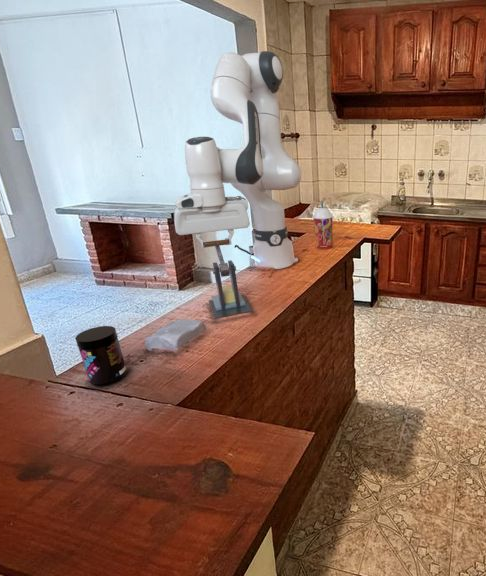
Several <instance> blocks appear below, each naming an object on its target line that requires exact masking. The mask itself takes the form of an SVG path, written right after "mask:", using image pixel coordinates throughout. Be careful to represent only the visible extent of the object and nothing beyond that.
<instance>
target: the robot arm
mask: <svg viewBox="0 0 486 576" xmlns="http://www.w3.org/2000/svg"><path fill="white" fill-rule="evenodd" d="M283 79H284V68H283V64H282V61H281V59H280V58H279V56H278V55H277V54H276V53H275V52H274V51H269V50H262V51H261V52H249V53H244V54H243V55H240V54H238V53H236V52H231V51H229V52H225V53H224V54H222V55H221V56H220V57H219V59H218V61H217V63H216V65H215V68H214V73H213V76H212V81H211V86H210V101H211V103H212V105H213V107H214V109H215V110H216V111H217V112H218V113H219V114H220V115H221V116H223V117H224V118H227V119H228V120H232V121H234V122H236V123H239V124H242V131H243V134H242V136H243V145H242V146H241V147H239V148H220V147H219V146H217V143H216V140H215V139H214V137H210V136H195V137H191V138H188V139H187V140H185V143H184V160H185V167H186V172H187V175H188V177H189V181H190V183H189V184H190V185H189V189H190V193H187V194H184V195H182V196H179V197H177V198H176V199H175V200H174V204H175V206H176V208H175V210H174V213H173V221H174V230H175V233H176V234H177V235H178V236H184V235H185V236H186V235H194V236H195V238H196V239H197V240H198V242H199V243H200V248H201V249H206V248H208V247H207V243H206V242H207V241H206V240H203V239H202V238H201V237H202V234H204V233H212V232H221V231H222V232H223V231H227V232H228V236H227V237H225V238H224V240H226V245H225V246H230V245H231V246H232V244H233V243H232V238H233V236H234V235H235V230H239V229H240V230H241V229H248V228H249V226H250V218H249V214H248V212H247V211H248V208H249V205H250V208H251V212H252V216H253V221H254V222H253V223H254V230H253V234H254V239H255V240H254V241H253V245H249V246H248V250H246V249H245V248H242V247H240V246H239V245H238V244H235V245H234V247H233V248H234V249H235V248H237V249H238V250H240V251H242V252H244V253H246V254H247V255H249V256H248V258H249V259H248V261H249V265H248V266H249V267H258V268H267V269H268V268H273V269H274V270H282V269H285V268H288V267H291V266H292V265H293V264H295V263H298V262H299V257H296V256H295V253H294V247H293V241H292V240H291V239H290V238H288V236H289V234H288V233H289V231H288V228H287V226H286V218H285V215H286V214H285V208H284V206H283V205H282V204H281V203H280V202H279V201H277V200H275V199H273V198H271V197H270V196H269V194H268V193H267V191H285V190H291V189H294V188H297V187H299V184H300V182H301V180H302V169H301V166H300V165H299V163H298V162H297V161H296V160H294V158H292V157H291V156H290V155H289V154H288V153H287V152H286V150H285V148H284V146H283V142H282V133H281V109H280V104H279V103H280V102H279V98H278V95H277V93H278V91H279V89H280V86H281V85H282V82H283ZM262 152H264V157H263V156H262V155H263V154H262ZM225 184H230V185H231V186H232V187H233V188H234V189H236V190H237V191H239V193H241V194H242V195H243V196H244V197H243V196H241V195H238V196H226V193H225V192H226V191H225V186H224V185H225ZM248 203H249V204H248ZM252 265H253V266H252Z"/></svg>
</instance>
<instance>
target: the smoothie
mask: <svg viewBox="0 0 486 576" xmlns="http://www.w3.org/2000/svg"><path fill="white" fill-rule="evenodd" d="M320 206H321V207H319V208H317V209H316V211H314V214H313V216H312V219H313V225H314V234H315V240H316V246H317V247H318V249H322V250H323V249H324V250H325V249H330V248H332V245H333V219H334V218H333V217H334V216H333V214H332V213H331V211H330V210H329V209H328V208H326V207H324V201H323V200H322V201H320ZM330 245H331V246H330ZM320 246H327V247H320Z"/></svg>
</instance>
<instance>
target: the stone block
mask: <svg viewBox="0 0 486 576" xmlns="http://www.w3.org/2000/svg"><path fill="white" fill-rule="evenodd" d="M205 330H206V325H205V323H204V321H202V320H196V319H192V318H190V319H189V318H182V319H176V320H173V321H172V320H171V321H170V322H168V323H167V324H165V325H163V326H161V327H160V328H159V329H158V330H156V332H155V333H153V334H151V335H149V336H147V337H145V338H144V345H145V347H146V349H147V351H149V352H152V349H160V350H162V349H163V350H167V351H168V350H169V351H178V350H180V349H181V348H182V347H184V346H185V345H186V344H188V343H190V341H191V340H193V339H194V338H195V337H197V336H198V335H199V334H201V333H202V332H204V331H205Z"/></svg>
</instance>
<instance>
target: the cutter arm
mask: <svg viewBox="0 0 486 576" xmlns="http://www.w3.org/2000/svg"><path fill="white" fill-rule="evenodd" d="M206 243H207V248H212V247H214V248H215V251H216V254H217V259H218V262H219V263H218V266H219V271H220V277H221V278H223V277H224V278H225V277H230V271H229V265H228V262H225V259H224V257H223V253H222V250H221V246H227V245H226V240H225V239H218V240H209V241H206Z"/></svg>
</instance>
